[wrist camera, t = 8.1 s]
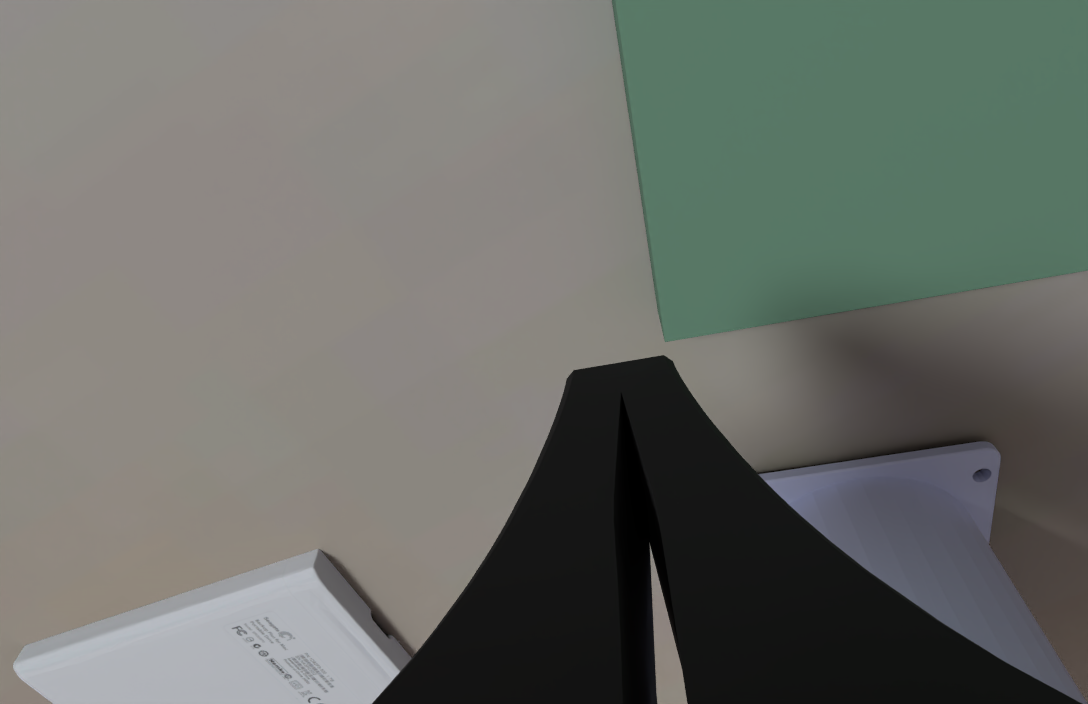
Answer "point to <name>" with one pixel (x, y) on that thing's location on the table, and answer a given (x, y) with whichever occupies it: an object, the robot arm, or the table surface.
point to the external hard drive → (227, 645)
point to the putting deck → (853, 151)
